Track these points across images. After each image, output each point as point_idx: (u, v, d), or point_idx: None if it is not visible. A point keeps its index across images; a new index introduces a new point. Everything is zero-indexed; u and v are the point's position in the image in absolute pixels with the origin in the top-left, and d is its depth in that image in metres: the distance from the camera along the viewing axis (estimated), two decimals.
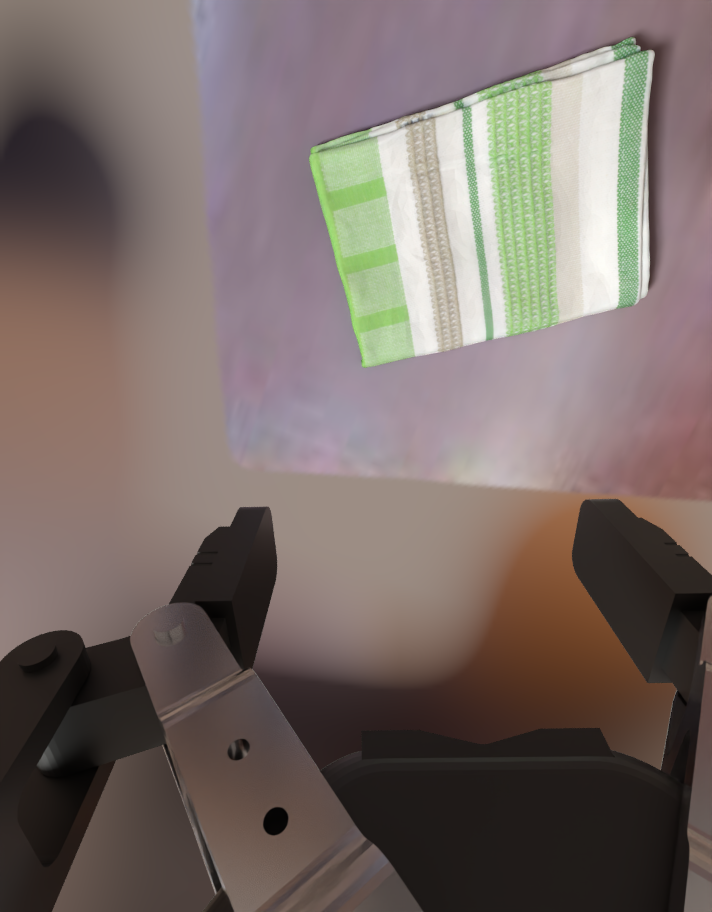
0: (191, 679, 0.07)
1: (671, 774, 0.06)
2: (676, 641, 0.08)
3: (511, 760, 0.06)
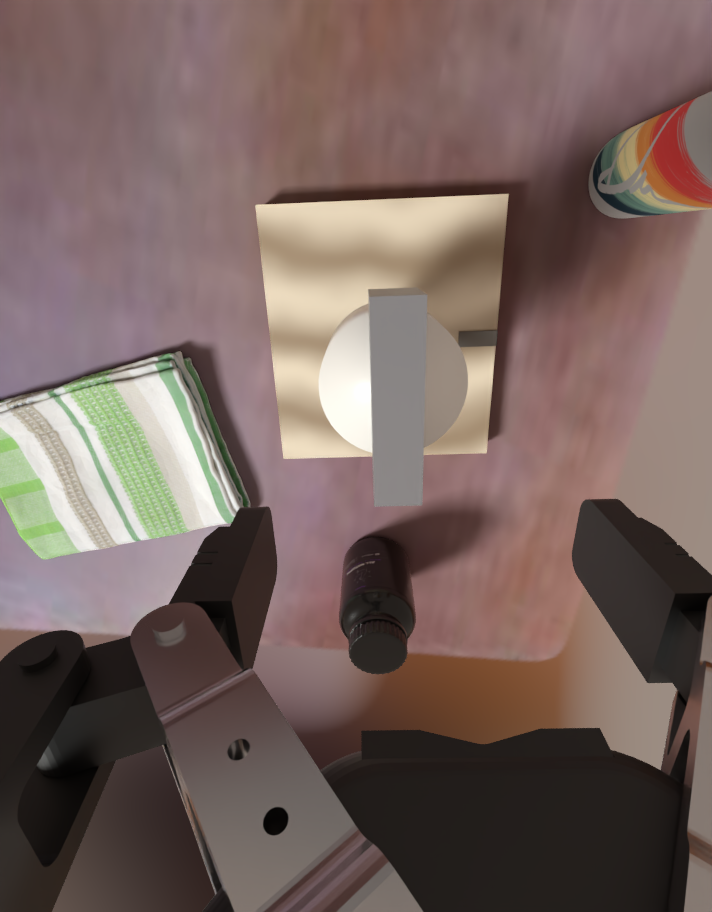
0: (191, 679, 0.07)
1: (671, 774, 0.06)
2: (676, 641, 0.08)
3: (512, 760, 0.06)
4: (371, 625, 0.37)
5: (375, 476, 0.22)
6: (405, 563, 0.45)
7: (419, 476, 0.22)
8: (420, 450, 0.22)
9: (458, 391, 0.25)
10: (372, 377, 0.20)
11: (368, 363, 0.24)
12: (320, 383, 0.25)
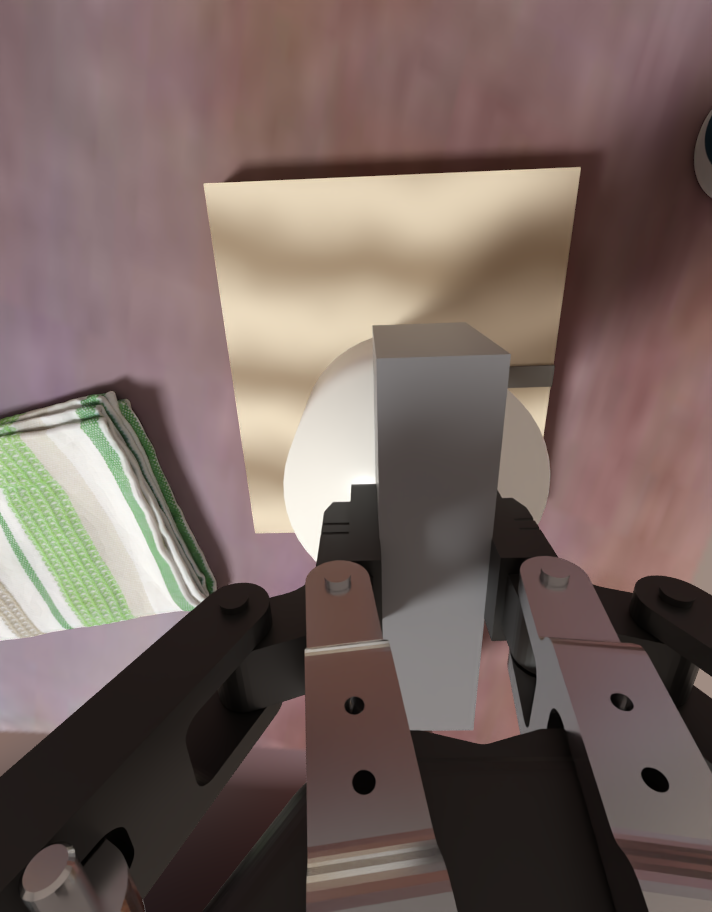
0: (341, 629, 0.07)
1: None
2: (507, 601, 0.09)
3: (512, 760, 0.06)
4: None
5: None
6: None
7: (470, 687, 0.12)
8: (475, 646, 0.11)
9: (531, 501, 0.14)
10: (381, 520, 0.10)
11: (372, 455, 0.13)
12: (286, 487, 0.14)
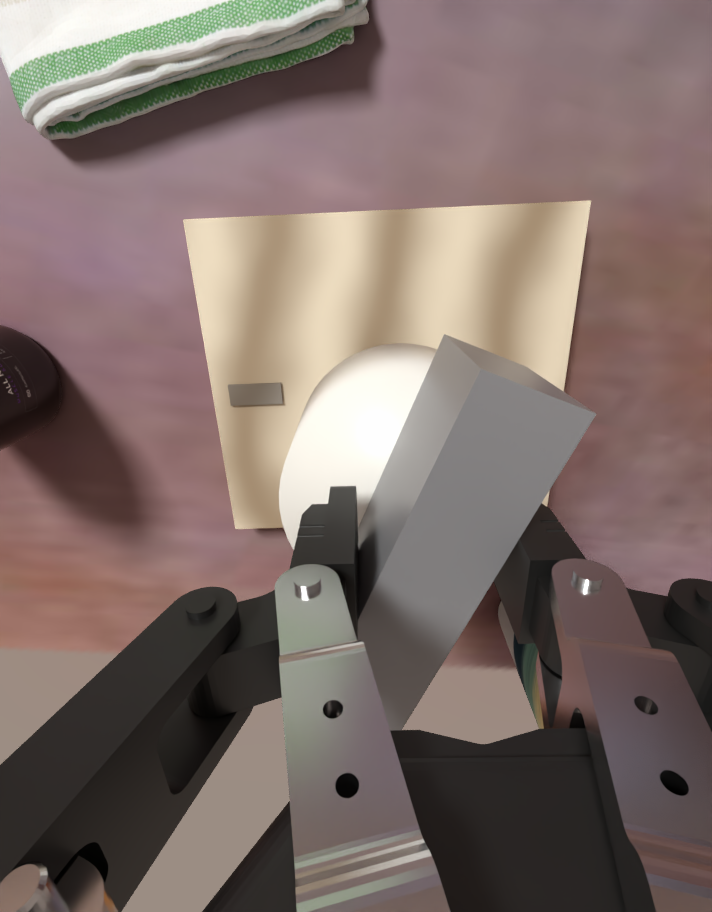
0: (313, 634, 0.07)
1: None
2: (535, 604, 0.09)
3: (512, 759, 0.06)
4: None
5: None
6: (23, 437, 0.27)
7: (410, 704, 0.12)
8: (433, 667, 0.11)
9: None
10: (409, 521, 0.10)
11: (387, 454, 0.13)
12: (291, 454, 0.13)
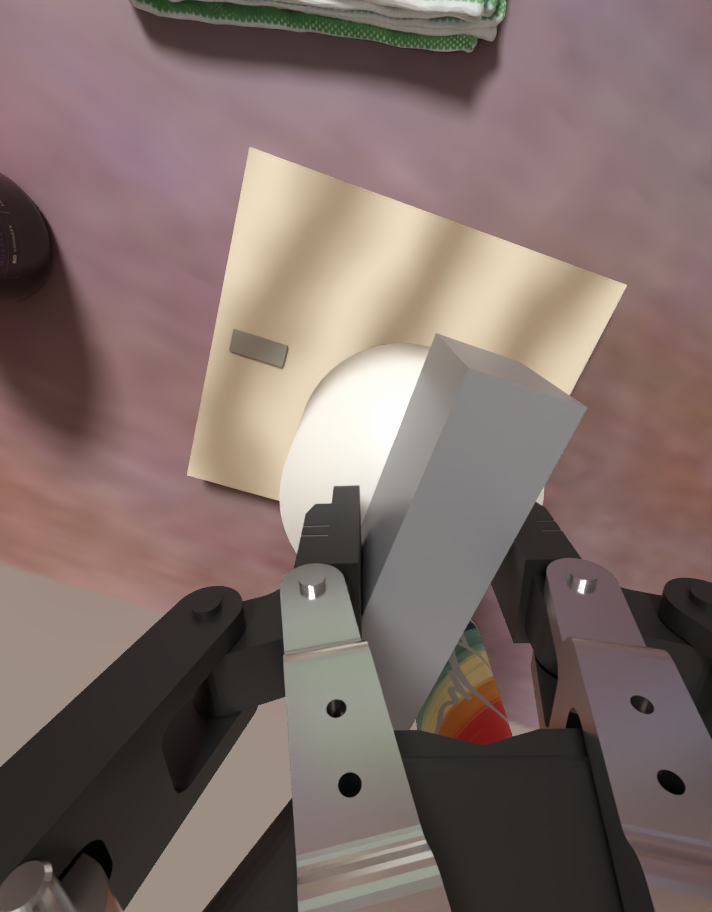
0: (318, 633, 0.07)
1: None
2: (531, 603, 0.09)
3: (511, 760, 0.06)
4: None
5: None
6: None
7: (416, 703, 0.12)
8: (437, 666, 0.11)
9: None
10: (405, 522, 0.10)
11: (385, 455, 0.13)
12: (290, 459, 0.13)
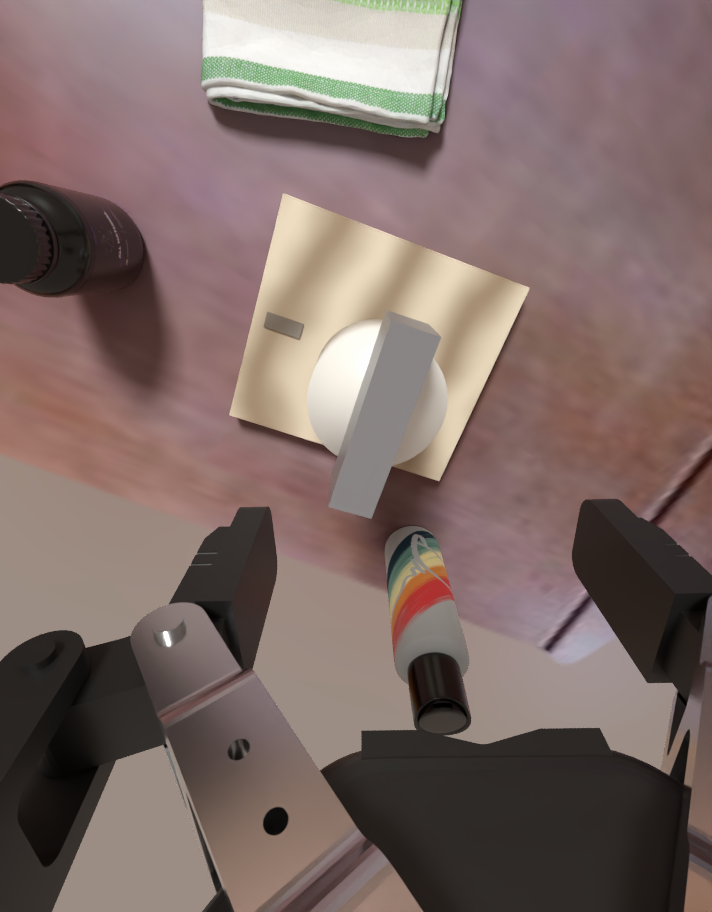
0: (192, 679, 0.07)
1: (671, 774, 0.06)
2: (676, 641, 0.08)
3: (511, 761, 0.06)
4: (46, 245, 0.27)
5: (339, 480, 0.24)
6: None
7: (378, 492, 0.24)
8: (387, 469, 0.23)
9: (432, 427, 0.27)
10: (368, 391, 0.22)
11: (362, 375, 0.26)
12: (312, 378, 0.26)
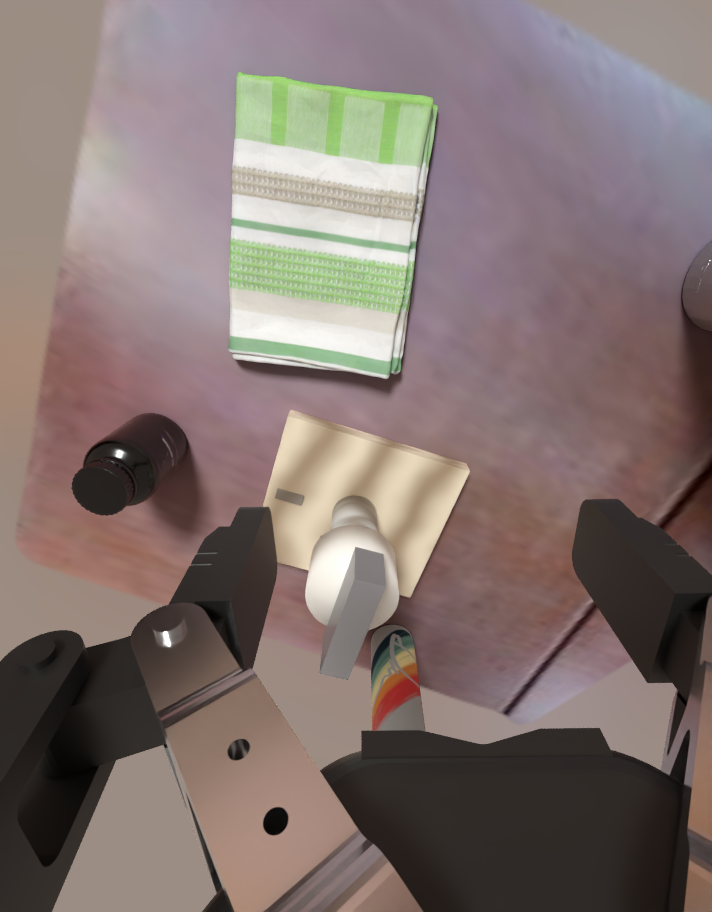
0: (191, 678, 0.07)
1: (671, 774, 0.06)
2: (676, 641, 0.08)
3: (512, 760, 0.06)
4: (131, 490, 0.40)
5: (326, 659, 0.37)
6: None
7: (351, 665, 0.37)
8: (356, 653, 0.37)
9: (389, 609, 0.40)
10: (342, 613, 0.35)
11: (341, 581, 0.39)
12: (308, 583, 0.39)
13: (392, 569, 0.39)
